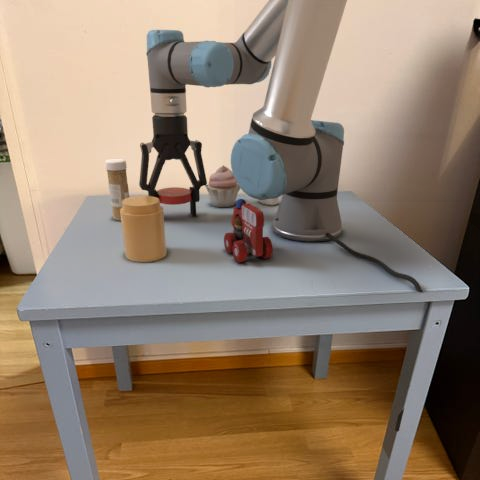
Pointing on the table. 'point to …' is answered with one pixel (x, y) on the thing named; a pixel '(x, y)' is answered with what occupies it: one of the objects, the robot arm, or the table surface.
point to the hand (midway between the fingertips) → (175, 216)
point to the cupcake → (222, 188)
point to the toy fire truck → (247, 233)
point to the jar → (143, 229)
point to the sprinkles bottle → (117, 184)
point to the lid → (174, 195)
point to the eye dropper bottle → (269, 201)
